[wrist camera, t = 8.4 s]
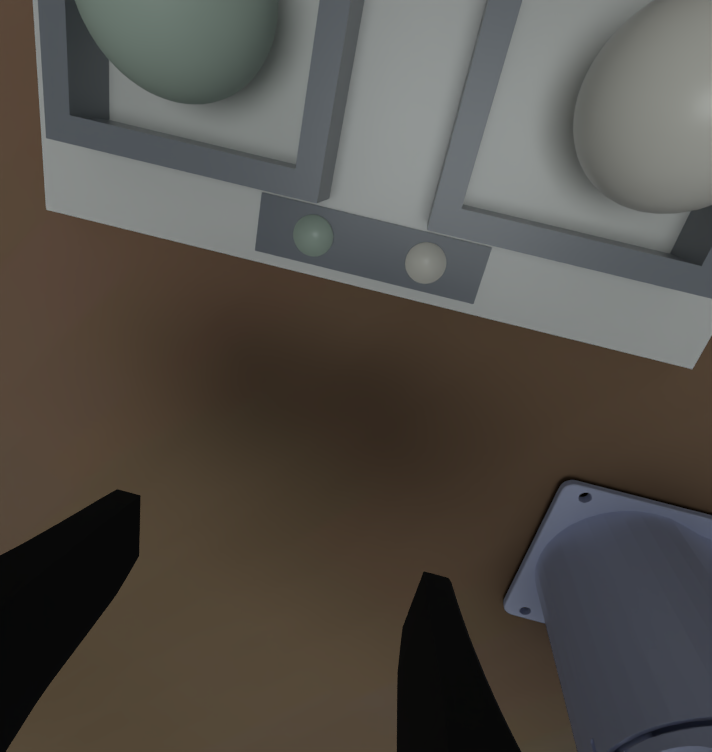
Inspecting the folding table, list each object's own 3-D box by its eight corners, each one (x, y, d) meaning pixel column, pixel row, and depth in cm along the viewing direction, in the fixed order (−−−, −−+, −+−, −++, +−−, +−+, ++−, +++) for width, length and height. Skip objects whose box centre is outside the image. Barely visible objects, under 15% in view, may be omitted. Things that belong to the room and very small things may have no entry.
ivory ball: (714, 33, 14) (940, 0, 10) (634, 212, 16) (791, 248, 12) (580, -31, 12) (785, -105, 8) (509, 179, 14) (641, 209, 10)
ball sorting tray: (958, -151, 12) (1115, -242, 9) (678, 358, 18) (723, 394, 15) (38, -338, 13) (-67, -472, 10) (64, 207, 19) (3, 215, 16)
